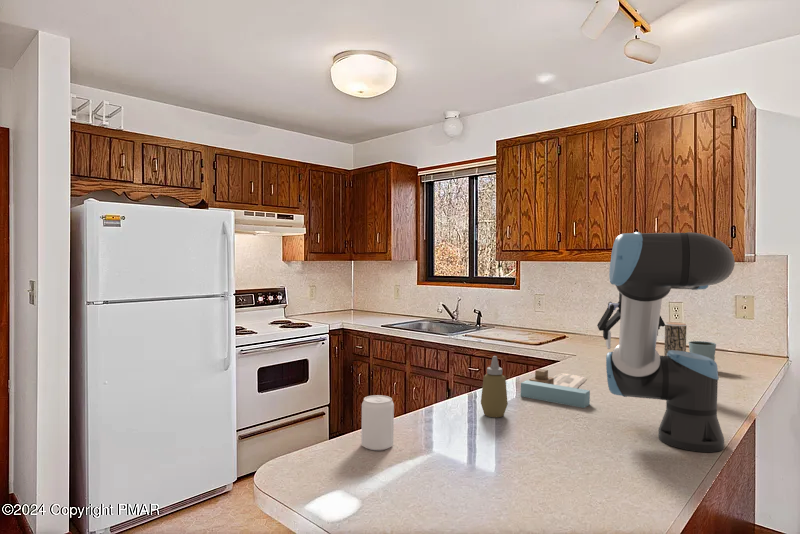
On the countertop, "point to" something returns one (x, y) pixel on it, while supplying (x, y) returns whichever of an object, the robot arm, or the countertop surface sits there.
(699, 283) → the robot arm
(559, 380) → the newspaper
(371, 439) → the beverage can
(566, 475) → the countertop surface
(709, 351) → the grey green cup
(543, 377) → the fulcrum
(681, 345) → the bark covered log
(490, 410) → the squeeze bottle
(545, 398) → the bar
